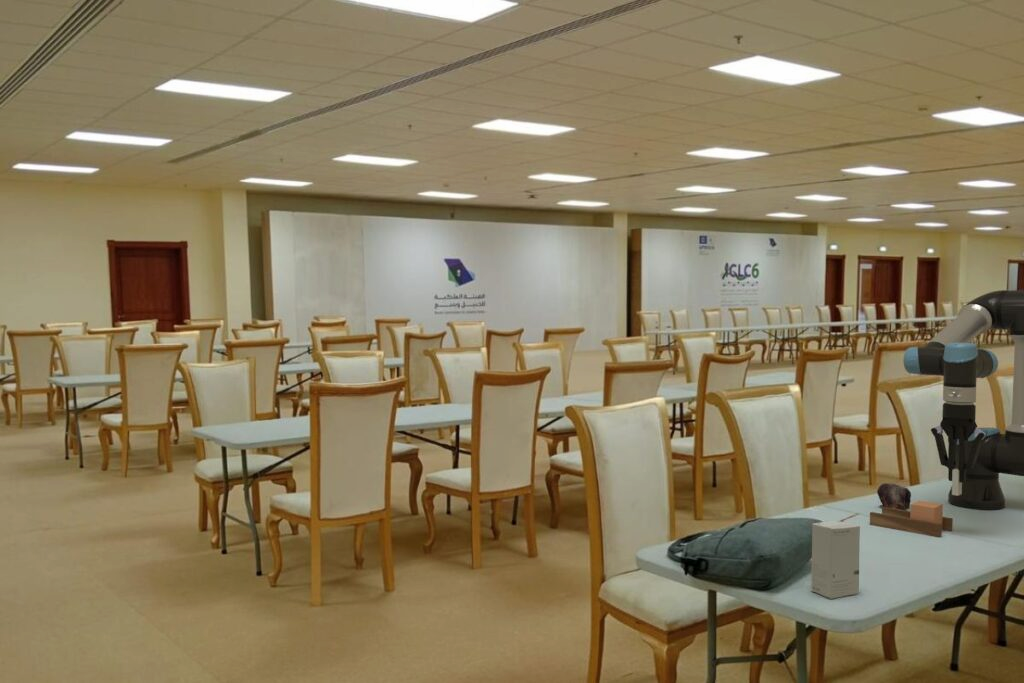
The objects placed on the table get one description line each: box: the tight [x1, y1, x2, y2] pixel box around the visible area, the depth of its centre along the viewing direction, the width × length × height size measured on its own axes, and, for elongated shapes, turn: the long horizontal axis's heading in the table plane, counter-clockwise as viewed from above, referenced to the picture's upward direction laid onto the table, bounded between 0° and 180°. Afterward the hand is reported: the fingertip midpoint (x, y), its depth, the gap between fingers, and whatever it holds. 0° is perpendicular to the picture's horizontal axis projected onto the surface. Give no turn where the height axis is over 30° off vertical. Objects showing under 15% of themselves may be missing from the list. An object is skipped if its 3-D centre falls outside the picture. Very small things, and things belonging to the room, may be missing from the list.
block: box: [909, 500, 944, 524], centre depth 227 cm, size 6×6×7 cm
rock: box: [876, 482, 912, 511], centre depth 252 cm, size 12×9×10 cm
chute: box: [839, 506, 954, 539], centre depth 233 cm, size 12×26×4 cm, turn 45°
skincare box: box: [810, 520, 861, 600], centre depth 183 cm, size 8×6×15 cm
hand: (956, 494), depth 221 cm, fingers closed
